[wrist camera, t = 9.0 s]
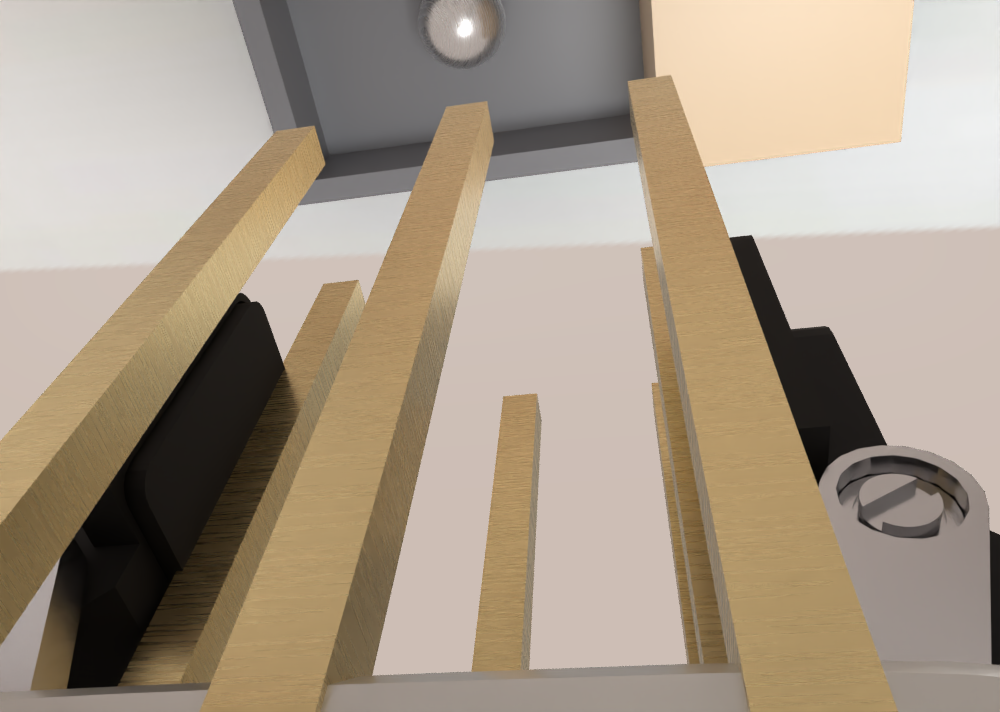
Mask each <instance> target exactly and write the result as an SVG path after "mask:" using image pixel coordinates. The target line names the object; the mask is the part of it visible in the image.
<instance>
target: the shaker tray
mask: <svg viewBox="0 0 1000 712" xmlns="http://www.w3.org/2000/svg"><path fill="white" fill-rule="evenodd" d="M421 2H422V0H233V3H234V7H235V10H236V13H237V16H238V19H239V23H240V26H241V29H242V32H243V36H244V39H245V42H246V45H247V48H248V52H249V55H250V58H251V61H252V65H253V68H254V71H255V74H256V77H257V81H258V84H259V87H260V90H261V94H262V97H263V100H264V103H265V106H266V110H267V113H268V116H269V119H270V123H271V126H272V129H273V132H274V133H275V132H276V131H281V130H288V129H295V128H302V127H309V126H315V129H316V133H317V136H318V140H319V143H320V147H321V150H322V154H323V157H324V161H325V166H324V167H323V169H322V170H321V172H320V173H319V175H318V176H317V178H316V179H315V181H314V182H313V184H312V185H311V186H310V188H309V189H308V191H307V192H306V194H305V195H304V197H303V198H302V200H301V201H300V203H299V204H298V205H306V204H314V203H321V202H329V201H337V200H345V199H352V198H360V197H368V196H376V195H383V194H391V193H399V192H407V191H412V190H413V187H414V185H415V182H416V180H417V178H418V175H419V173H420V170H421V168H422V165H423V163H424V160H425V158H426V156H427V153H428V151H429V148H430V146H431V143H432V141H433V138H434V136H435V133H436V131H437V129H438V126H439V124H440V121H441V119H442V116H443V114H444V111H445V109H446V107H449V106H456V105H463V104H470V103H477V102H484V101H487V103H488V109H489V115H490V121H491V127H492V132H493V138H494V144H493V148H492V153H491V157H490V161H489V166H488V170H487V174H486V179H485V181H492V180H499V179H507V178H515V177H523V176H530V175H538V174H546V173H553V172H561V171H569V170H577V169H584V168H592V167H600V166H608V165H615V164H623V163H631V162H638V160H637V154H636V148H635V143H634V137H633V132H632V126H631V118H630V105H629V93H628V81H632V80H639V79H646V78H653V77H660V76H667V75H671V76H672V79H673V82H674V84H675V87H676V90H677V93H678V96H679V98H680V101H681V104H682V107H683V110H684V112H685V115H686V118H687V121H688V124H689V127H690V129H691V132H692V135H693V138H694V141H695V143H696V146H697V149H698V152H699V155H700V157H701V160H702V163H703V166H704V167H707V166H715V165H723V164H731V163H738V162H746V161H754V160H762V159H770V158H778V157H786V156H794V155H801V154H809V153H817V152H825V151H833V150H841V149H849V148H857V147H864V146H872V145H880V144H888V143H896V142H901V134H902V124H903V113H904V102H905V92H906V81H907V71H908V60H909V50H910V39H911V29H912V18H913V8H914V0H501V2H502V4H503V7H504V11H505V16H506V29H505V35H504V38H503V41H502V43H501V45H500V47H499V49H498V51H497V52H496V53H495V54H494V55H493V57H491V58H490V59H489V60H488V61H487V62H485V63H484V64H482V65H480V66H477V67H475V68H471V69H454V68H450V67H447V66H445V65H443V64H441V63H440V62H438V61H437V60H435V59H434V58H433V57H432V56H431V55H430V54H429V53H428V51H427V50H426V48H425V47H424V45H423V43H422V41H421V38H420V35H419V31H418V12H419V8H420V4H421Z"/></svg>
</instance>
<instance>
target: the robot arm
mask: <svg viewBox="0 0 1000 712" xmlns="http://www.w3.org/2000/svg"><path fill="white" fill-rule="evenodd" d="M729 239H730V241H731V244H732V247H733V250H734V253H735V255H736V258H737V261H738V264H739V267H740V269H741V272H742V275H743V278H744V281H745V284H746V286H747V289H748V292H749V295H750V298H751V300H752V303H753V306H754V309H755V312H756V314H757V317H758V320H759V323H760V326H761V328H762V331H763V334H764V337H765V340H766V342H767V345H768V348H769V351H770V354H771V356H772V359H773V362H774V365H775V368H776V370H777V373H778V376H779V379H780V382H781V384H782V387H783V390H784V393H785V396H786V398H787V401H788V404H789V407H790V410H791V412H792V415H793V418H794V421H795V424H796V426H797V429H798V432H799V435H800V438H801V441H802V443H803V446H804V449H805V452H806V455H807V457H808V460H809V463H810V466H811V469H812V471H813V474H814V477H815V480H816V483H817V485H818V488H819V491H820V494H821V497H822V499H823V502H824V505H825V508H826V511H827V513H828V516H829V519H830V522H831V525H832V527H833V530H834V533H835V536H836V539H837V541H838V544H839V547H840V550H841V553H842V555H843V558H844V561H845V564H846V567H847V569H848V572H849V575H850V578H851V581H852V584H853V586H854V589H855V592H856V595H857V598H858V600H859V603H860V606H861V609H862V612H863V614H864V617H865V620H866V623H867V626H868V628H869V631H870V634H871V637H872V640H873V642H874V645H875V648H876V651H877V654H878V656H879V659H880V662H881V665H882V668H883V670H884V673H885V676H886V679H887V682H888V684H889V687H890V690H891V693H892V696H893V698H894V701H895V704H896V707H897V710H898V712H1000V535H999V534H997V533H995V532H992V531H990V528H989V506H988V502H987V498H986V495H985V491H984V490H983V489H982V488H981V486H980V485H979V484H978V482H977V481H976V480H975V478H974V477H973V476H972V475H971V474H969V473H968V472H967V471H965V470H964V469H963V468H961V467H960V466H958V465H957V464H956V463H954V462H952V461H950V460H948V459H946V458H943V457H941V456H938V455H936V454H934V453H931V452H928V451H923V450H919V449H915V448H911V447H906V446H887V444H886V442H885V440H884V438H883V436H882V433H881V431H880V429H879V427H878V425H877V423H876V421H875V419H874V417H873V415H872V413H871V411H870V409H869V407H868V405H867V403H866V401H865V399H864V396H863V394H862V392H861V390H860V388H859V386H858V384H857V382H856V380H855V378H854V376H853V374H852V372H851V370H850V368H849V366H848V363H847V361H846V359H845V357H844V355H843V353H842V351H841V349H840V347H839V345H838V343H837V341H836V339H835V337H834V335H833V333H832V331H831V330H830V328H829V327H826V326H822V327H812V328H801V329H790V327H789V324H788V322H787V319H786V317H785V314H784V312H783V310H782V307H781V305H780V302H779V300H778V297H777V295H776V292H775V290H774V288H773V285H772V283H771V280H770V278H769V275H768V273H767V270H766V268H765V266H764V263H763V261H762V258H761V256H760V253H759V251H758V248H757V246H756V244H755V241H754V239H753V237H752V235H749V236H740V237H731V238H729ZM284 369H285V367H284V364H283V361H282V359H281V356H280V353H279V350H278V347H277V345H276V342H275V339H274V336H273V333H272V331H271V328H270V325H269V322H268V320H267V317H266V314H265V311H264V309H263V307H262V306H261V305H260V303H258V302H250V300H249V299H248V297H247V296H246V295H244V294H243V293H238V295H237V296H236V298H235V299H234V301H233V302H232V304H231V305H230V307H229V308H228V310H227V311H226V312H225V314H224V315H223V317H222V318H221V320H220V321H219V323H218V324H217V326H216V327H215V329H214V330H213V332H212V333H211V335H210V336H209V338H208V339H207V341H206V342H205V344H204V345H203V347H202V348H201V350H200V351H199V352H198V354H197V355H196V357H195V358H194V360H193V361H192V363H191V364H190V366H189V367H188V369H187V370H186V372H185V373H184V375H183V376H182V378H181V379H180V381H179V382H178V384H177V385H176V387H175V388H174V390H173V391H172V393H171V394H170V395H169V397H168V398H167V400H166V401H165V403H164V404H163V406H162V407H161V409H160V410H159V412H158V413H157V415H156V416H155V418H154V419H153V421H152V422H151V424H150V425H149V427H148V428H147V430H146V431H145V433H144V434H143V435H142V437H141V438H140V440H139V441H138V443H137V444H136V446H135V447H134V449H133V450H132V452H131V453H130V455H129V456H128V458H127V459H126V461H125V462H124V464H123V465H122V467H121V468H120V470H119V471H118V473H117V474H116V476H115V477H114V478H113V480H112V481H111V483H110V484H109V486H108V487H107V489H106V490H105V492H104V493H103V495H102V496H101V498H100V499H99V501H98V502H97V504H96V505H95V507H94V508H93V510H92V511H91V513H90V514H89V516H88V517H87V518H86V520H85V521H84V523H83V524H82V526H81V527H80V529H79V530H78V532H77V533H76V535H75V536H74V538H73V539H72V541H71V542H70V544H69V545H68V547H67V548H66V550H65V551H64V553H63V554H62V556H61V557H60V558H59V560H58V561H57V563H56V564H55V566H54V567H53V569H52V570H51V572H50V573H49V575H48V576H47V578H46V579H45V581H44V582H43V584H42V585H41V587H40V588H39V590H38V591H37V593H36V594H35V596H34V597H33V599H32V600H31V601H30V603H29V604H28V606H27V607H26V609H25V610H24V612H23V613H22V615H21V616H20V618H19V619H18V621H17V622H16V624H15V625H14V627H13V628H12V630H11V631H10V633H9V634H8V636H7V637H6V639H5V640H4V641H3V643H2V644H1V646H0V712H199V711H200V709H201V706H202V704H203V701H204V699H205V697H206V694H207V692H208V689H209V687H210V684H211V682H207V683H183V684H161V685H140V686H119V687H117V686H118V684H119V682H120V680H121V679H122V677H123V675H124V673H125V671H126V669H127V667H128V665H129V663H130V661H131V659H132V657H133V655H134V653H135V651H136V649H137V647H138V645H139V643H140V641H141V639H142V638H143V636H144V634H145V632H146V630H147V628H148V626H149V624H150V622H151V620H152V618H153V616H154V614H155V612H156V610H157V608H158V606H159V604H160V602H161V600H162V598H163V597H164V595H165V593H166V591H167V589H168V587H169V585H170V583H171V581H172V579H173V577H174V575H175V573H176V571H183V569H184V567H185V565H186V563H187V561H188V560H189V558H190V556H191V554H192V552H193V550H194V548H195V546H196V544H197V542H198V540H199V538H200V536H201V534H202V532H203V530H204V528H205V526H206V524H207V522H208V520H209V518H210V516H211V514H212V512H213V510H214V508H215V506H216V504H217V502H218V500H219V498H220V496H221V494H222V492H223V490H224V488H225V486H226V484H227V482H228V480H229V478H230V476H231V474H232V472H233V470H234V468H235V466H236V464H237V462H238V460H239V458H240V456H241V454H242V452H243V450H244V448H245V446H246V444H247V442H248V440H249V438H250V437H251V435H252V433H253V431H254V429H255V427H256V425H257V423H258V421H259V419H260V417H261V415H262V413H263V411H264V409H265V407H266V405H267V403H268V401H269V399H270V397H271V395H272V393H273V391H274V389H275V387H276V385H277V383H278V381H279V379H280V377H281V375H282V373H283V371H284ZM320 712H749V710H748V705H747V700H746V695H745V690H744V684H743V679H742V674H741V672H740V670H739V669H738V667H737V666H736V665H734V664H732V663H711V664H677V665H676V664H675V665H647V666H619V667H590V668H565V669H564V668H563V669H534V670H506V671H478V672H450V673H426V674H401V675H377V676H359V677H355V678H352V679H348V680H344V681H340V682H337V683H334V684H330V685H328V687H327V690H326V694H325V697H324V701H323V704H322V708H321V711H320Z"/></svg>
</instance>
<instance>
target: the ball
mask: <svg viewBox="0 0 1000 712" xmlns="http://www.w3.org/2000/svg"><path fill="white" fill-rule="evenodd" d="M505 29H506V16H505V11H504V7H503V4H502V2H501V0H422V2H421V4H420V8H419V12H418V31H419V35H420V38H421V41H422V43H423V45H424V47H425V48H426V50H427V51H428V53H429V54H430V55H431V56H432V57H433V58H434V59H435V60H437V61H438V62H440V63H441V64H443V65H445V66H447V67H450V68H454V69H471V68H475V67H477V66H480V65H482V64H484V63H485V62H487V61H488V60H489V59H490V58H491V57H493V55H494V54H495V53H496V52H497V51H498V49H499V47H500V45H501V43H502V41H503V38H504V35H505Z"/></svg>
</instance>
